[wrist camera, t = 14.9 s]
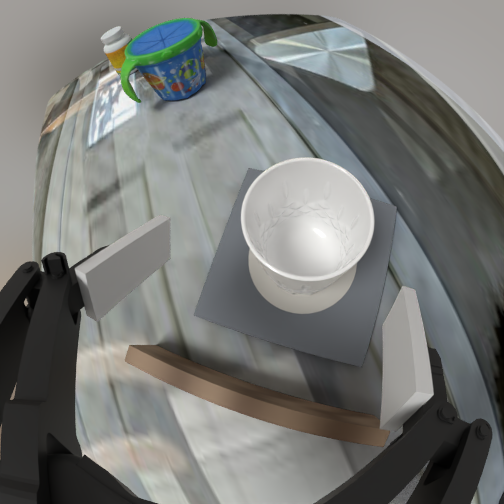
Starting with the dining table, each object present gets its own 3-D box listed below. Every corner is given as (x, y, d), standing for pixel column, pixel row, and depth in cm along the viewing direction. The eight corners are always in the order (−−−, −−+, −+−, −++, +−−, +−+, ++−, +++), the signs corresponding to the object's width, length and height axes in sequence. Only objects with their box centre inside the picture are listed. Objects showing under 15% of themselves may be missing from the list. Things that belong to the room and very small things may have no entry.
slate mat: (395, 209, 26) (397, 205, 26) (360, 366, 23) (362, 367, 22) (249, 171, 30) (248, 167, 29) (195, 315, 26) (192, 315, 25)
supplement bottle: (119, 68, 42) (98, 34, 33) (143, 56, 41) (125, 20, 32) (118, 81, 40) (95, 45, 31) (144, 68, 40) (124, 30, 31)
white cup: (272, 210, 27) (262, 147, 18) (352, 230, 26) (380, 173, 16) (248, 289, 25) (222, 259, 16) (334, 312, 24) (361, 296, 14)
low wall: (373, 415, 21) (390, 430, 16) (368, 429, 21) (383, 446, 16) (155, 345, 26) (129, 345, 21) (151, 358, 25) (124, 360, 21)
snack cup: (202, 53, 39) (187, 6, 29) (244, 70, 35) (232, 15, 26) (127, 106, 37) (97, 61, 27) (159, 132, 34) (126, 78, 24)
